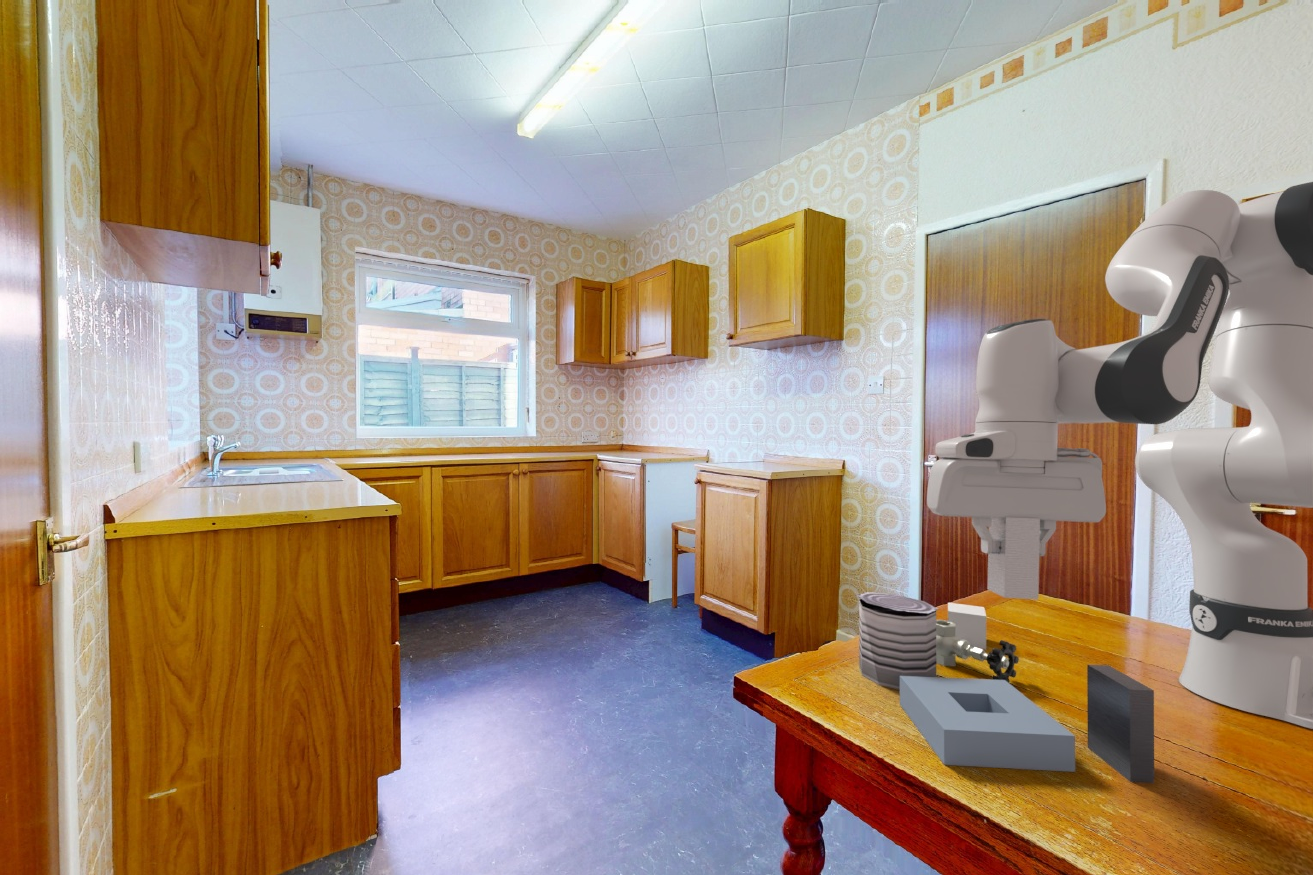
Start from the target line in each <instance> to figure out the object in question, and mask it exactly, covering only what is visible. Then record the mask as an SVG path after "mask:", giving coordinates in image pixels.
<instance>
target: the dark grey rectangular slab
mask: <svg viewBox="0 0 1313 875" xmlns="http://www.w3.org/2000/svg"><path fill="white" fill-rule="evenodd" d="M1086 666H1087V667H1086V669H1087V672H1086V674H1087V677H1086V678H1087V686H1086V687H1087V688H1086V690H1087V692H1086V693H1087V694H1086V695H1087V698H1086V699H1087V701H1086V702H1087V705H1086V706H1087V708H1086V709H1087V714H1086V715H1087V749H1089V750H1090V751H1091V752H1092V753H1094V754H1095V755H1096V756H1097V757H1099V759H1100V760H1102V761H1104V762H1105V763H1106V764H1107V765H1108V766H1110V767H1111V768H1113V770H1115V771H1116V772H1117V773H1119V774H1120V775H1121V776H1122V777H1124V778H1125V779H1126V780H1127V781H1129V782H1130V783H1146V784H1155V705H1154V704H1155V699H1154V698H1155V691H1154V689H1152V688H1150V687H1148V686H1147V685H1145V684H1143V683H1141V682H1140V681H1137V680H1136V679H1134V678H1132V677H1131V676H1128V675H1126V674H1125V673H1123V672H1122V671H1119V670H1118V669H1116V668H1114V667H1113V666H1110V665H1109V664H1108V665H1107V664H1086Z"/></svg>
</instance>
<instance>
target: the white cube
mask: <svg viewBox="0 0 1313 875" xmlns="http://www.w3.org/2000/svg"><path fill="white" fill-rule="evenodd" d="M947 621H950V622H953V623H955V636H956V637H957V640H959V639H964V640H967V641H969V642H970V644H971V646H972V647H973V648H974V647H976V648H979V649H982V650H987V614H986V609H985V607H984V606H978V605H971V604H962V603H955V602H947Z"/></svg>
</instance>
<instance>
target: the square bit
mask: <svg viewBox="0 0 1313 875" xmlns="http://www.w3.org/2000/svg"><path fill="white" fill-rule="evenodd" d="M988 530H989V532H990V534H991V536H992V538H993V539H995V540H999V541H1000V547H999V549H1000V553H999V554H987V583H986V584H987V590H989V591H990V592H993V593H994V594H996V595H998V596H1000V597H1002V598H1005V599H1024V600H1037V601H1038V600H1039V592H1040V590H1039V589H1040V587H1039V585H1040V556H1039V544H1040V519H1039V518H1018V517H1004V518H992V526H991V527H988Z"/></svg>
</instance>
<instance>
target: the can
mask: <svg viewBox="0 0 1313 875" xmlns="http://www.w3.org/2000/svg"><path fill="white" fill-rule="evenodd" d="M856 596H857V597H858V598H860V599H859V600H858V602H859V604H858V605H859V606H858V608H859V609H858V613H859V614H858V615H859V616H858V617H859V618H858V622H859V623H858V629H859V630H858V632H859V634H858V638H859V641H858V643H859V644H858V646H859V647H858V648H859V649H858V651H859V652H858V654H859V655H858V659H859V660H858V661H859V662H858V664H859V665H858V667H859V670H860V674H861V676H863V678H866V679H867V680H870V681H871V682H872V683H875V684H876V685H878V686H882V687H884V688H885V687H886V688H891V689H895V690H899V691H900V676H917V677H937V663H936V620H937V611H938V610H939V608H938V607H936V606H933V605H932V604H930V603H928V602H927V601H924V600H921V599H916V598H911V597H908V596H902V595H899V594H893V593H892V594H891V593H883V592H872V591H871V592H870V591H867V592H864V593H860V594H856Z"/></svg>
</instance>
